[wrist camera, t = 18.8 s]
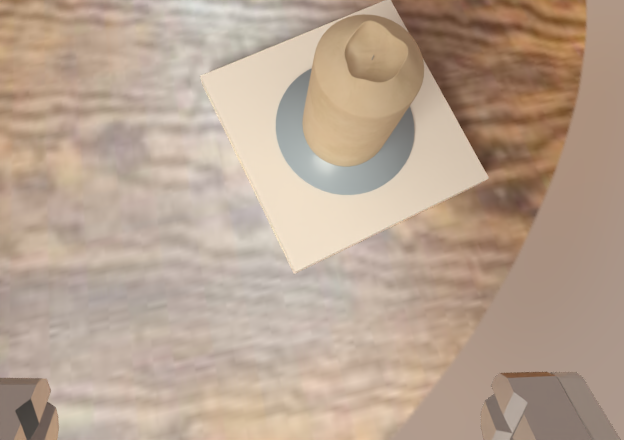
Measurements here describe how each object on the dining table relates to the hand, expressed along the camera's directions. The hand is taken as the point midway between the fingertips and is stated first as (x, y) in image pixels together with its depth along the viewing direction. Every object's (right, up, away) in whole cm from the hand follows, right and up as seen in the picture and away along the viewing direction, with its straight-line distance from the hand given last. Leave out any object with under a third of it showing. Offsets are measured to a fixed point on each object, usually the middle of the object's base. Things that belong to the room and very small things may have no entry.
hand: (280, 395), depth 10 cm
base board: (+3, +9, +27) cm, 28 cm away
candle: (+3, +9, +25) cm, 27 cm away
